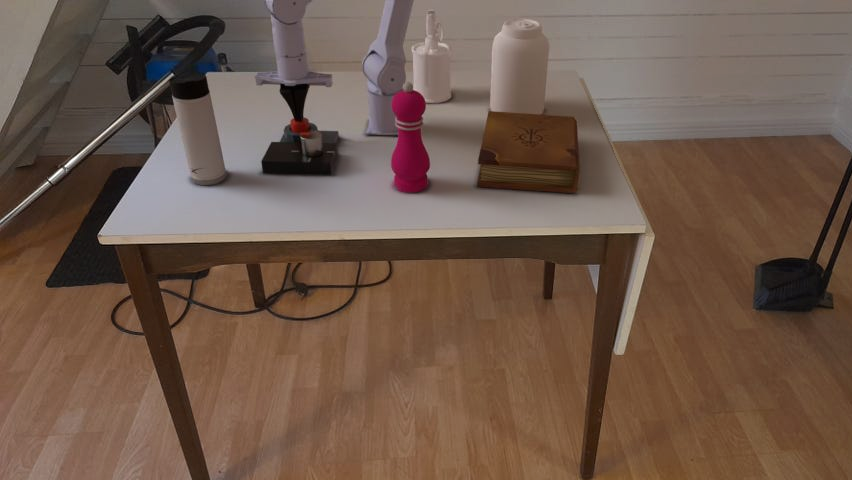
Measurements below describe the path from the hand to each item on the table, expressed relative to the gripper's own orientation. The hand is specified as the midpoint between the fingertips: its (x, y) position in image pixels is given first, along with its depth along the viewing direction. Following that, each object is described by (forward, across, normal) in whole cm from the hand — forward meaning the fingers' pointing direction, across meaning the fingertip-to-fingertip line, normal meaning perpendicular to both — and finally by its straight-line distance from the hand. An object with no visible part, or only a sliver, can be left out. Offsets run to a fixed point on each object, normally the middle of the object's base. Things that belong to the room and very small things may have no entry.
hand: (299, 119), depth 142 cm
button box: (+6, +2, 0) cm, 6 cm away
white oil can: (+6, +26, +27) cm, 37 cm away
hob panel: (+6, +2, -9) cm, 10 cm away
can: (+6, +46, +20) cm, 50 cm away
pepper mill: (+6, +24, -16) cm, 29 cm away
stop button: (+2, 0, 0) cm, 2 cm away
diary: (+6, +46, -6) cm, 47 cm away
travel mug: (+6, -14, -15) cm, 22 cm away
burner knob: (+3, +4, -9) cm, 10 cm away
